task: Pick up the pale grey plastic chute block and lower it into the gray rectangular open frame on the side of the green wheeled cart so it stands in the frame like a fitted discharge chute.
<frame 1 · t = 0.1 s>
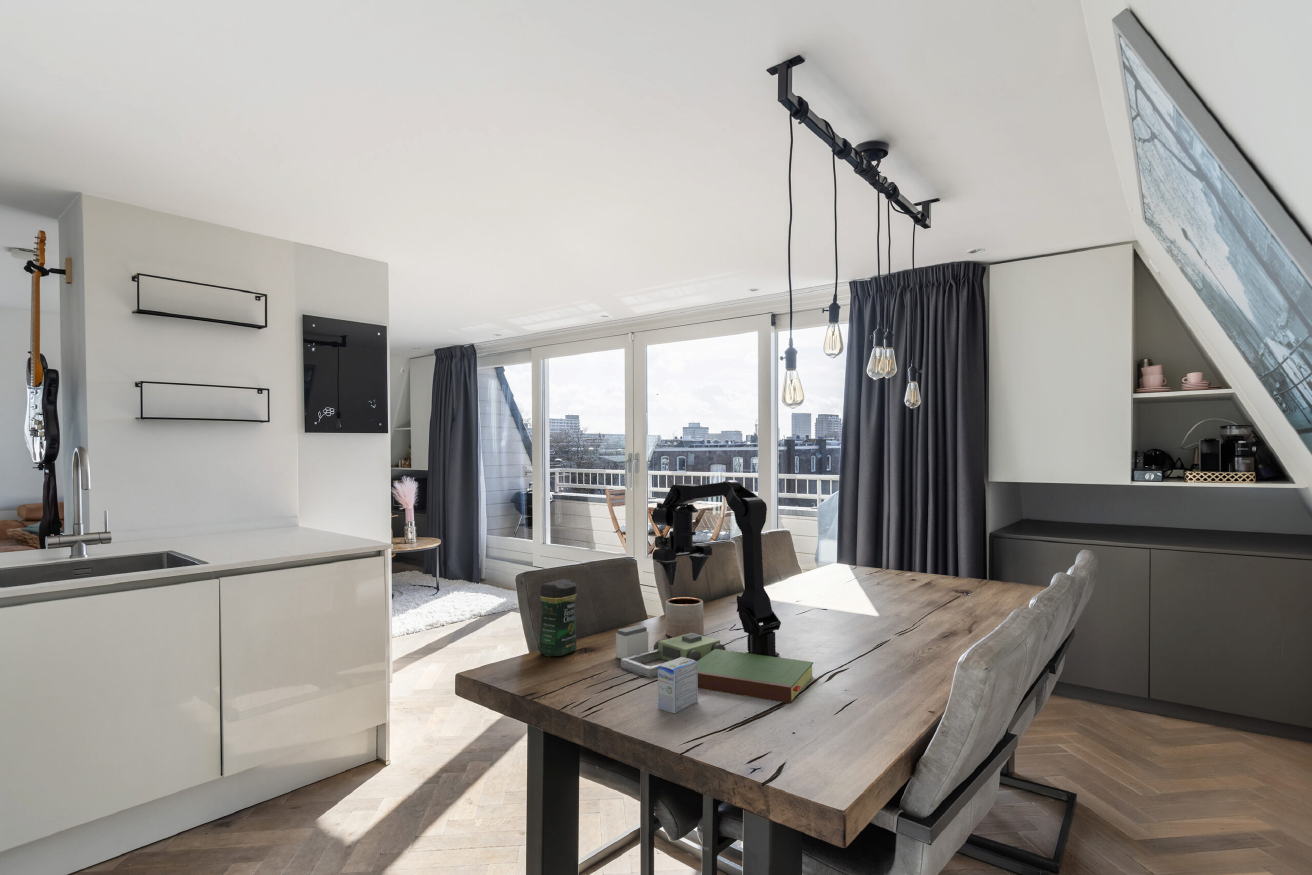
hand: (683, 582, 189), 15 cm above the table, fingers open, 9 cm apart
green wheeled cart: (689, 656, 167), on the table
coffee jar: (558, 653, 171), on the table
chute block: (632, 656, 168), on the table
medicine box: (678, 706, 134), on the table
planter: (684, 635, 188), on the table
gray rectangular open frame: (655, 666, 159), on the table
hardcover book: (751, 684, 148), on the table
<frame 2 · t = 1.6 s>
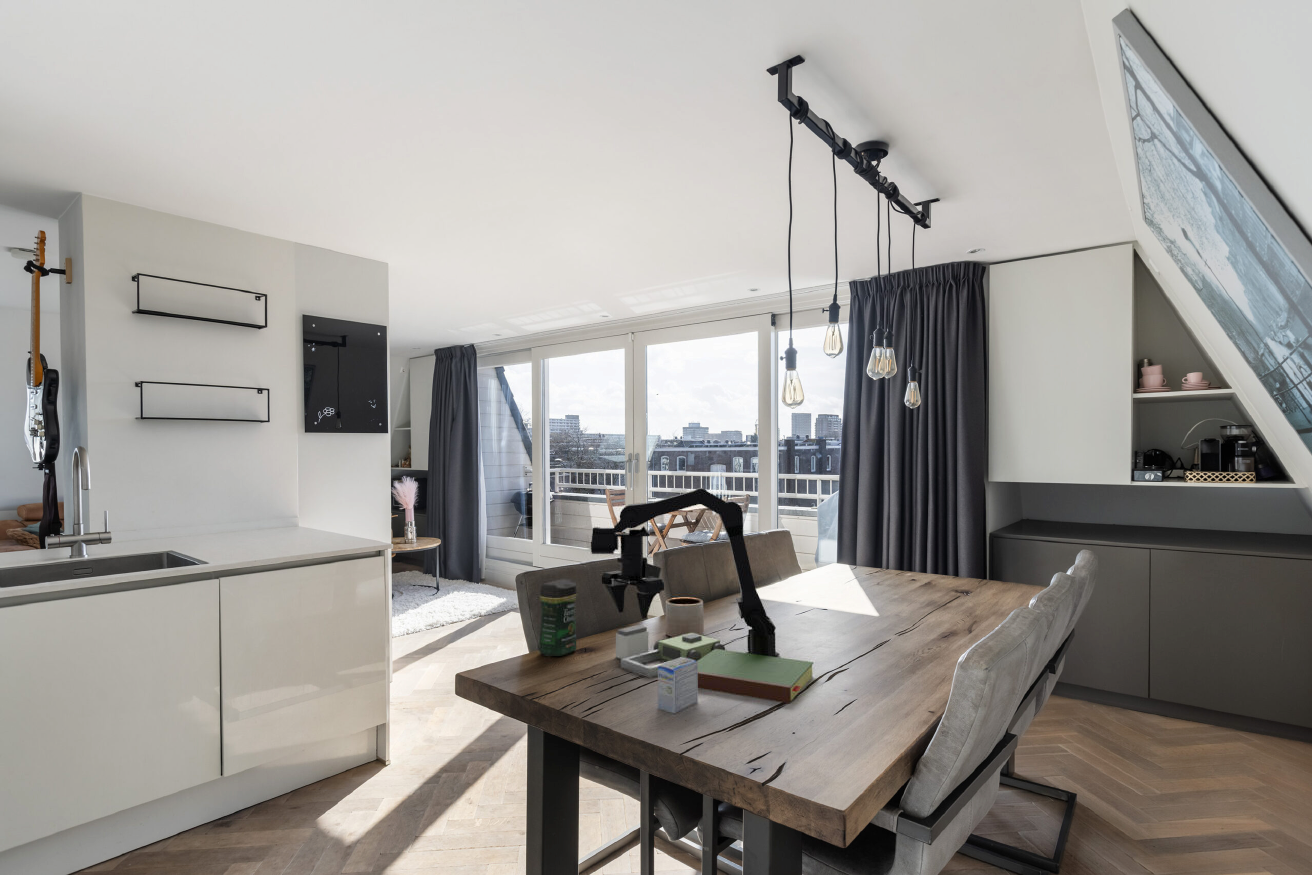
hand: (632, 615, 168), 10 cm above the table, fingers open, 9 cm apart
nothing on the table moved.
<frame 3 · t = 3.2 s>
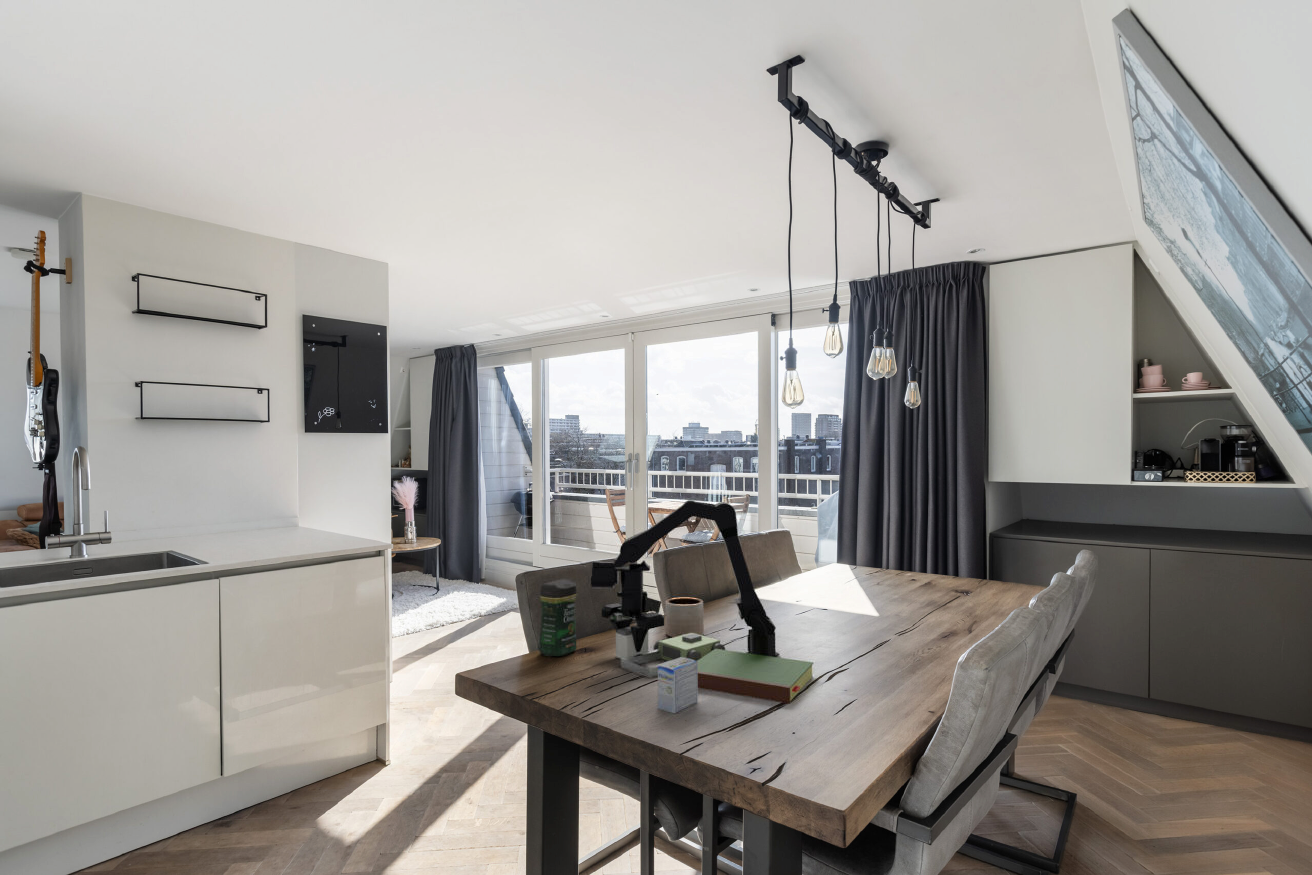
hand: (632, 649, 168), 2 cm above the table, fingers closed on chute block, 4 cm apart
chute block: (632, 655, 168), on the table, touching gripper
everything else where it was.
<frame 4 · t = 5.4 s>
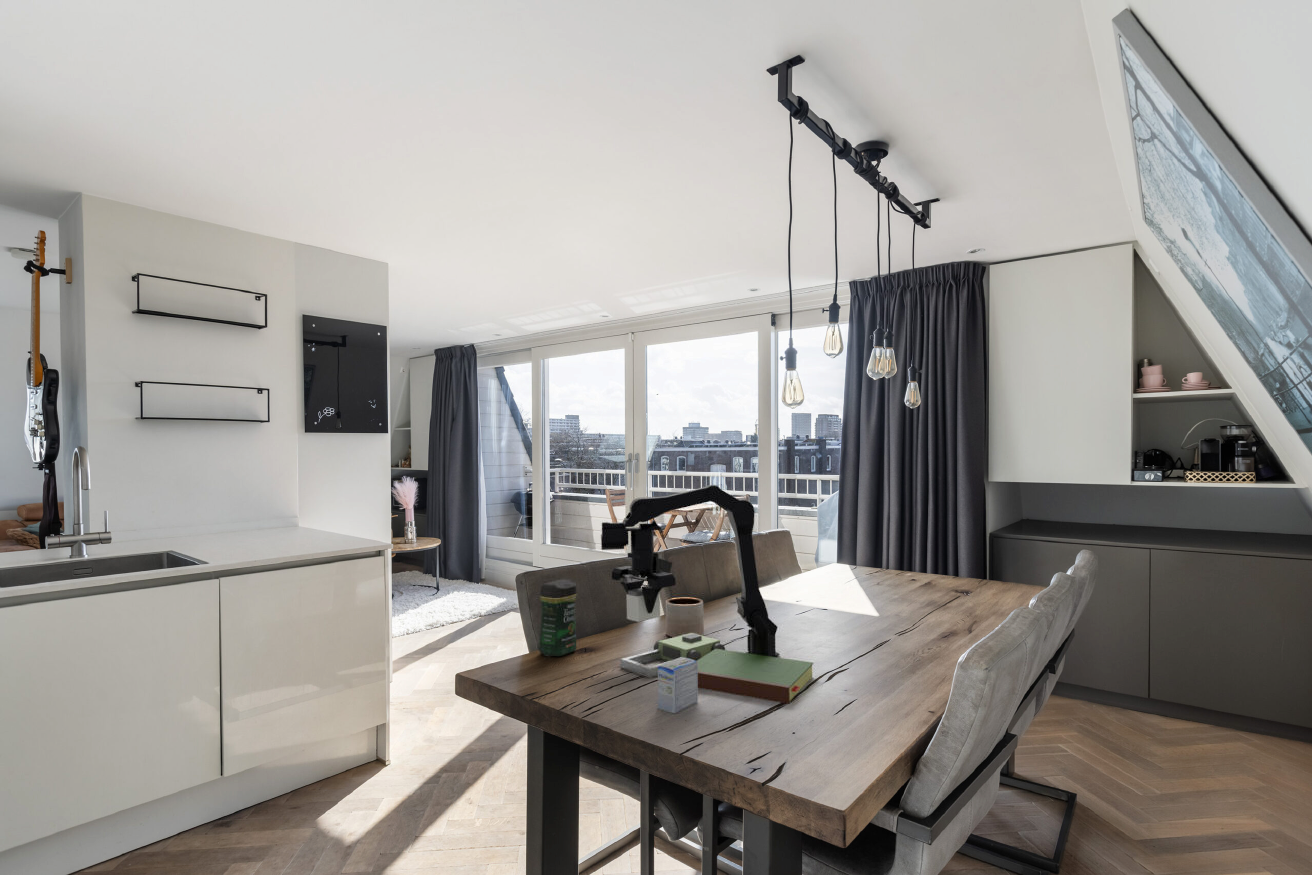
hand: (643, 611, 164), 12 cm above the table, fingers closed on chute block, 4 cm apart
chute block: (643, 617, 164), point 11 cm above the table, touching gripper
everything else where it was.
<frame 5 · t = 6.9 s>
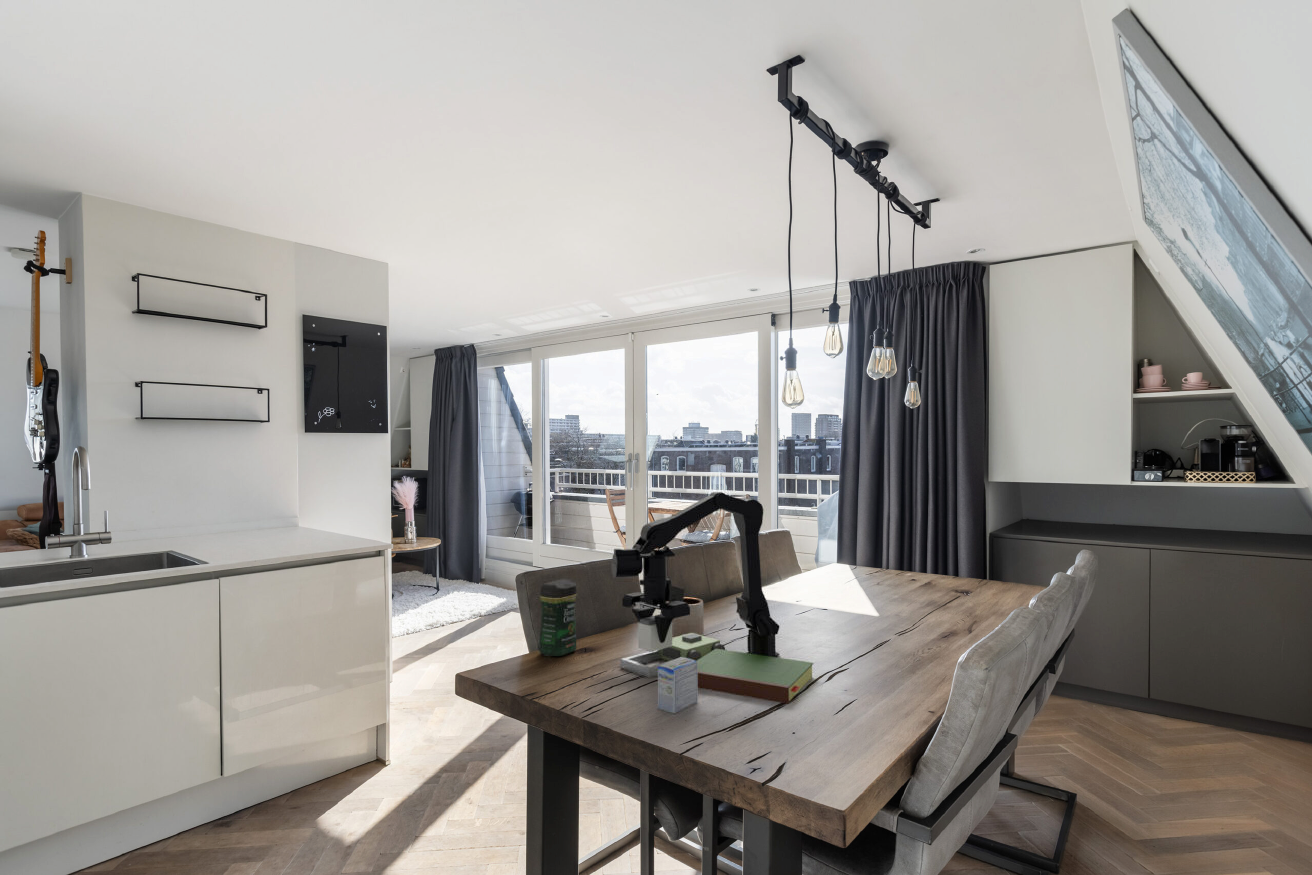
hand: (655, 640, 159), 6 cm above the table, fingers closed on chute block, 4 cm apart
chute block: (655, 646, 159), point 5 cm above the table, touching gripper
everything else where it was.
when the fingers open (3 cm above the table, at t = 7.9 s): chute block drops 2 cm, resting in gray rectangular open frame.
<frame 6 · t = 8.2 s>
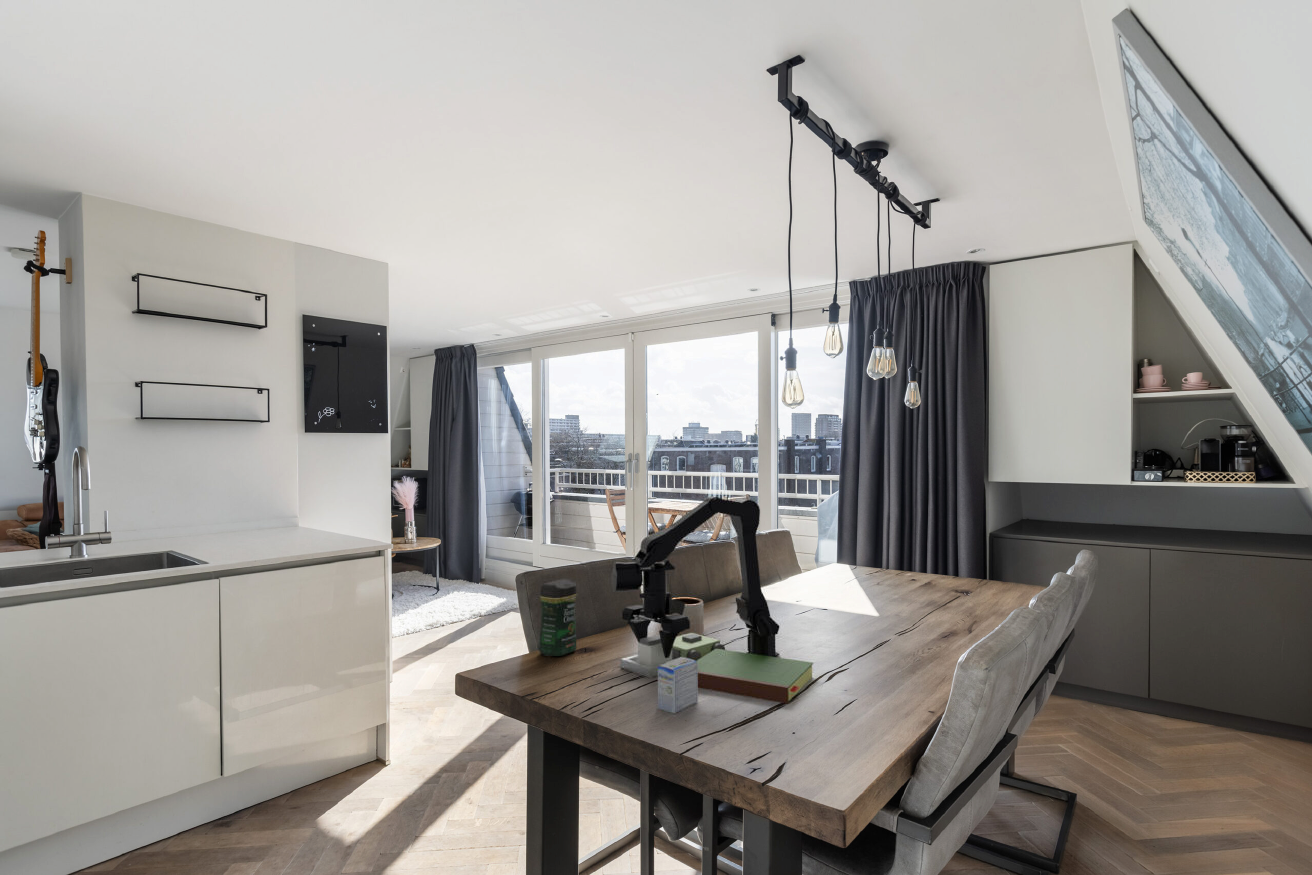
hand: (655, 653, 159), 3 cm above the table, fingers open, 8 cm apart
chute block: (655, 666, 159), resting in gray rectangular open frame
everything else where it was.
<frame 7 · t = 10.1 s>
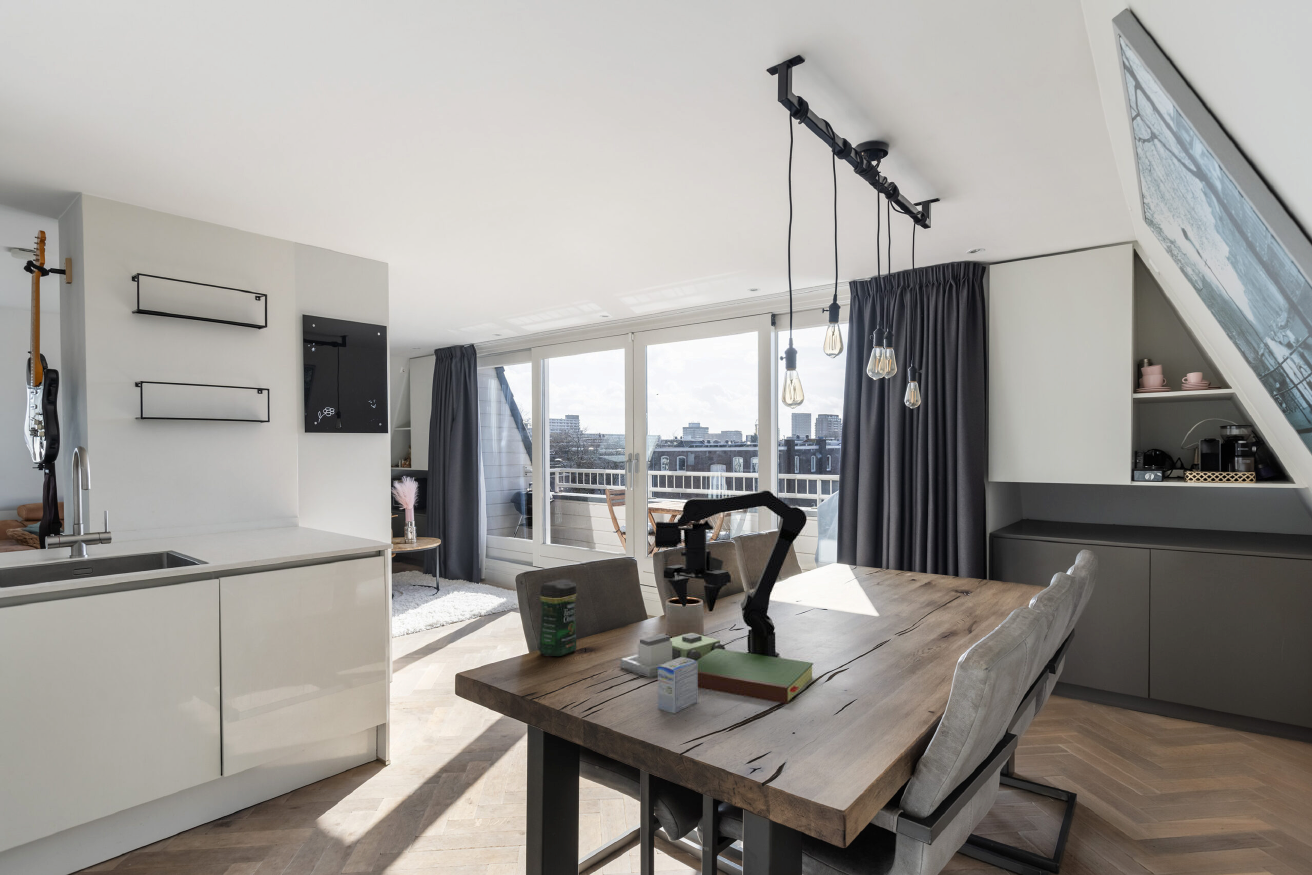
hand: (697, 608, 169), 12 cm above the table, fingers open, 9 cm apart
nothing on the table moved.
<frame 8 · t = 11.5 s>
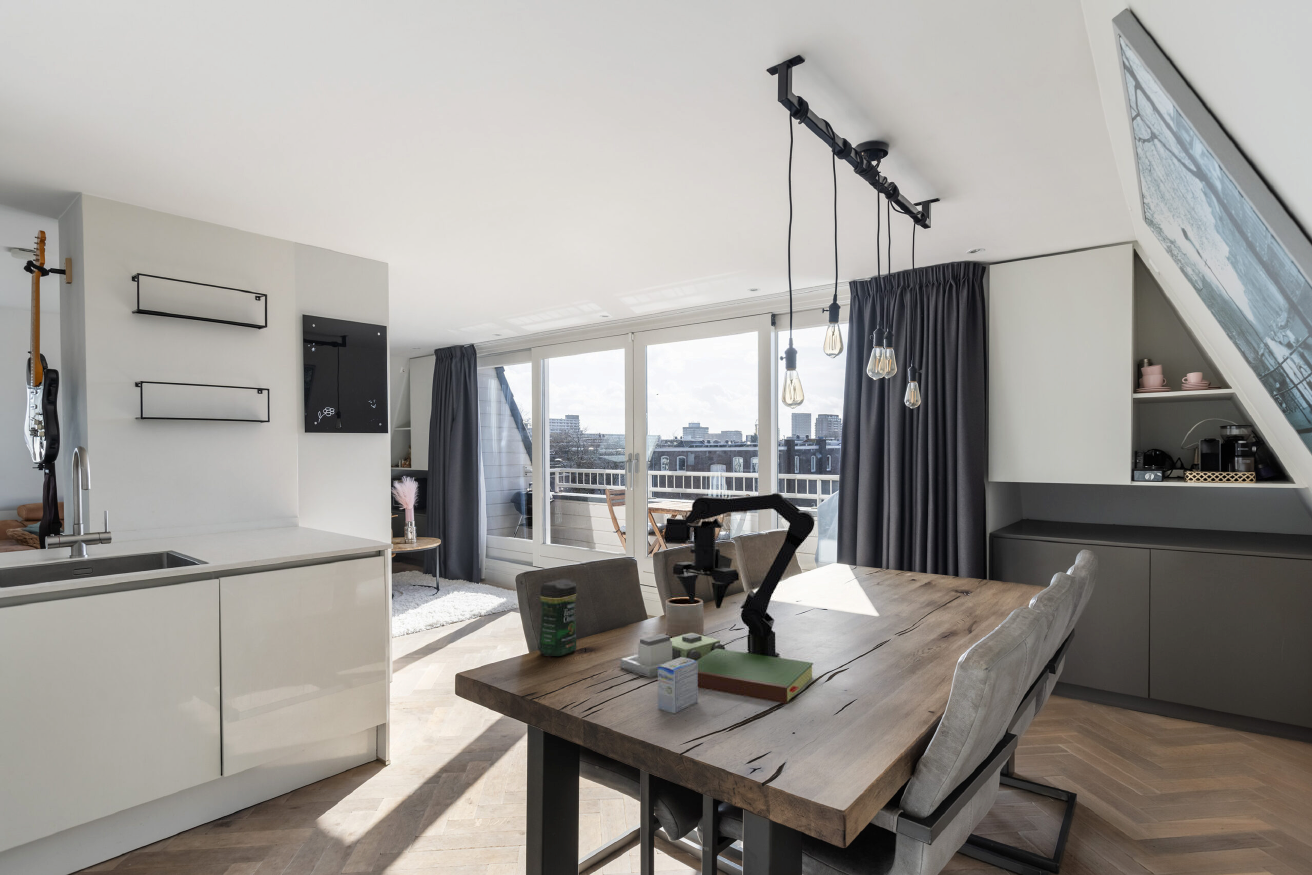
hand: (705, 605, 171), 12 cm above the table, fingers open, 9 cm apart
nothing on the table moved.
at the end: chute block inside the target area on the gray rectangular open frame (0.0 cm from its centre), point 0.0 cm above the gray rectangular open frame's base; chute block tilted 0°; the gripper is holding nothing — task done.
